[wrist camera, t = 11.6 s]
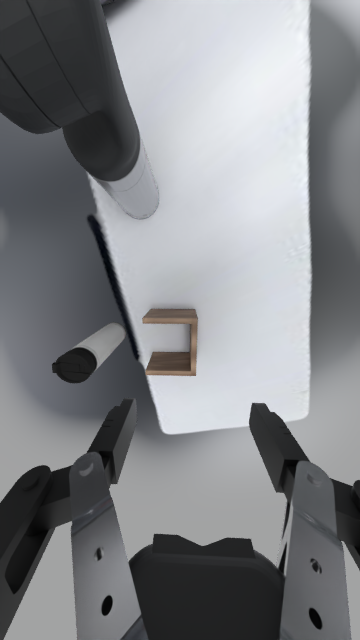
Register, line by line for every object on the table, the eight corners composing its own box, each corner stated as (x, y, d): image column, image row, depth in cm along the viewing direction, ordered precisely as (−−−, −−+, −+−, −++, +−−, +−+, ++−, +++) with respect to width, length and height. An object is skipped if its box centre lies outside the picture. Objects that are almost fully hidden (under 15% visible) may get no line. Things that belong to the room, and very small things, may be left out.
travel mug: (103, 320, 48) (49, 352, 29) (126, 323, 48) (87, 357, 29) (103, 340, 50) (52, 383, 30) (125, 343, 50) (88, 388, 30)
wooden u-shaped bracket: (151, 308, 47) (142, 318, 37) (194, 309, 46) (197, 318, 37) (153, 355, 50) (145, 374, 41) (193, 356, 50) (195, 375, 41)
